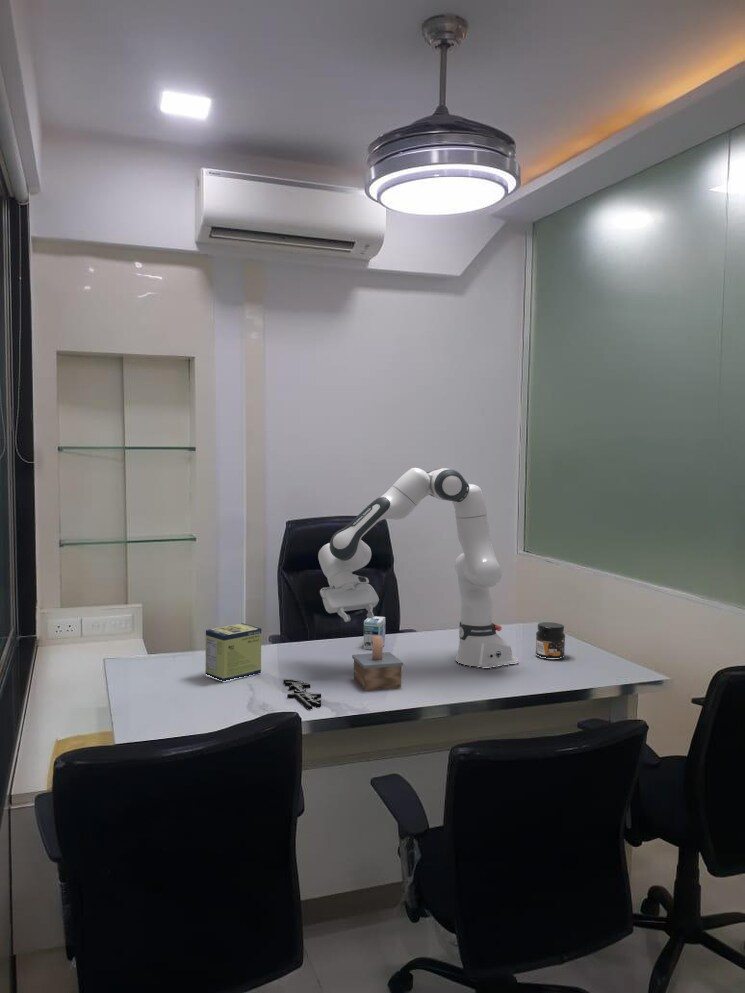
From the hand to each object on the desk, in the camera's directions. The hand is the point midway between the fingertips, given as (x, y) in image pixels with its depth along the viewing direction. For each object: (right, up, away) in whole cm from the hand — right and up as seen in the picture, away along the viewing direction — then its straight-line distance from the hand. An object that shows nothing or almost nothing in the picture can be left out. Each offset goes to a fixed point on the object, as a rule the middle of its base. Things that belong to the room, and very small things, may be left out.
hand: (359, 619), depth 251 cm
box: (+6, -20, -7) cm, 21 cm away
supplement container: (+70, -19, +28) cm, 78 cm away
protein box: (-42, -19, -1) cm, 46 cm away
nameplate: (-17, -21, -20) cm, 34 cm away
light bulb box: (+5, -17, +39) cm, 43 cm away
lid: (+6, -14, -7) cm, 17 cm away
